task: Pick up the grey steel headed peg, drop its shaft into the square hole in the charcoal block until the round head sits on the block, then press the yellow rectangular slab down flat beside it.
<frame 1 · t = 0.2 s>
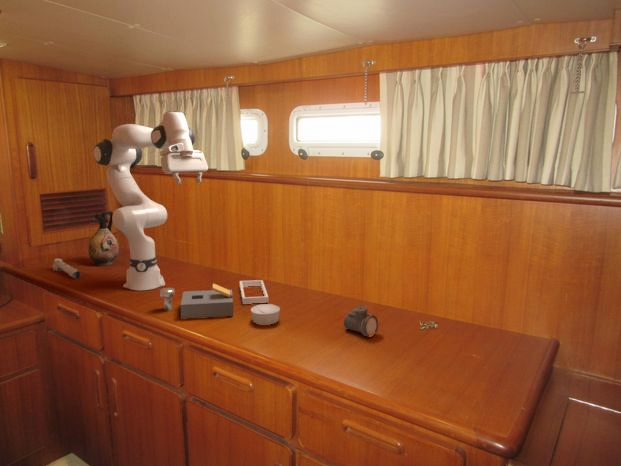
hand: (189, 183, 178), 51 cm above the cabinet, fingers open, 8 cm apart
pipe fitting: (359, 333, 163), on the cabinet
rectangular frame: (253, 294, 202), on the cabinet
steel peg: (168, 309, 182), on the cabinet
ceramic jug: (106, 263, 249), on the cabinet
ramekin: (265, 322, 172), on the cabinet
yellow rectangular slab: (222, 290, 181), point 8 cm above the cabinet, hinge at 26.8°
hitch block: (207, 310, 181), on the cabinet
grey elongated piece: (66, 274, 228), on the cabinet
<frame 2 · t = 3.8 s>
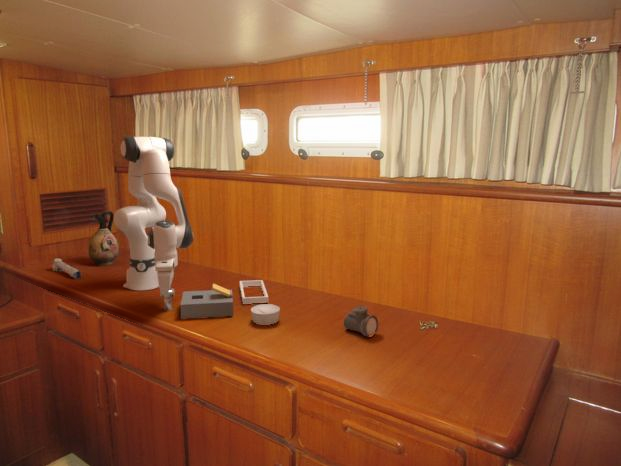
hand: (167, 294, 181), 7 cm above the cabinet, fingers closed on steel peg, 6 cm apart
steel peg: (168, 309, 182), on the cabinet, touching gripper
everything else where it was.
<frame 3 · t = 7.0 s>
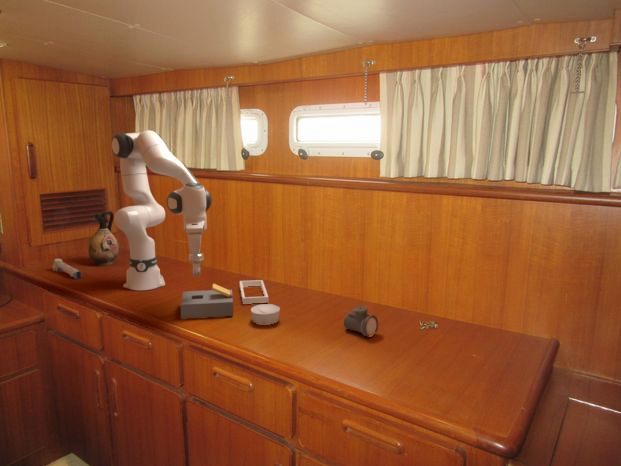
hand: (196, 258, 176), 22 cm above the cabinet, fingers closed on steel peg, 6 cm apart
steel peg: (196, 274, 178), point 16 cm above the cabinet, touching gripper
everything else where it was.
when the fingers open (8 cm above the cabinet, at t = 10.5 s): steel peg drops 2 cm, resting on hitch block.
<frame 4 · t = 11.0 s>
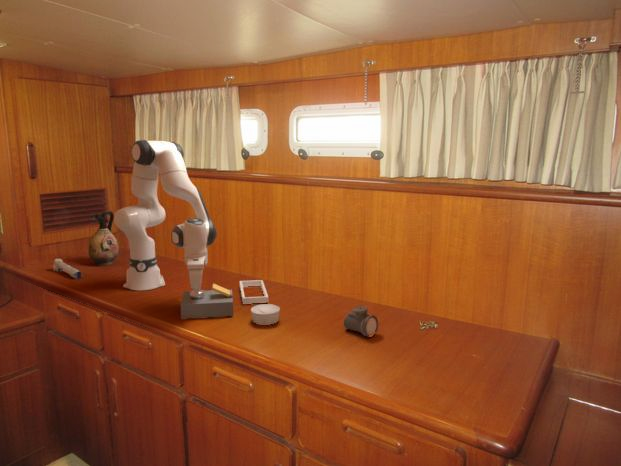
hand: (197, 292, 179), 8 cm above the cabinet, fingers open, 8 cm apart
steel peg: (197, 311, 180), resting on hitch block
everything else where it was.
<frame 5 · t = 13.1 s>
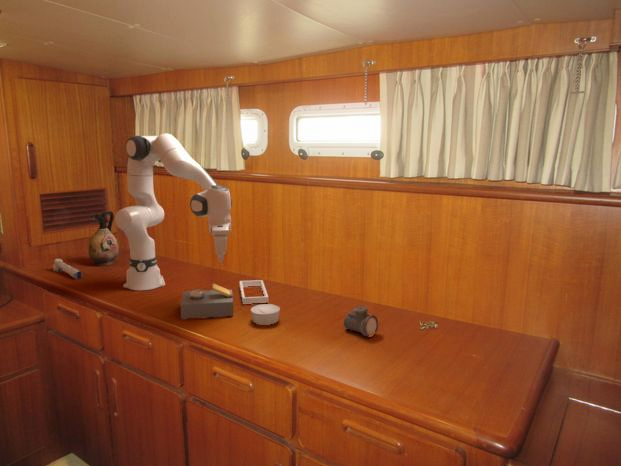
hand: (220, 260, 178), 21 cm above the cabinet, fingers open, 4 cm apart
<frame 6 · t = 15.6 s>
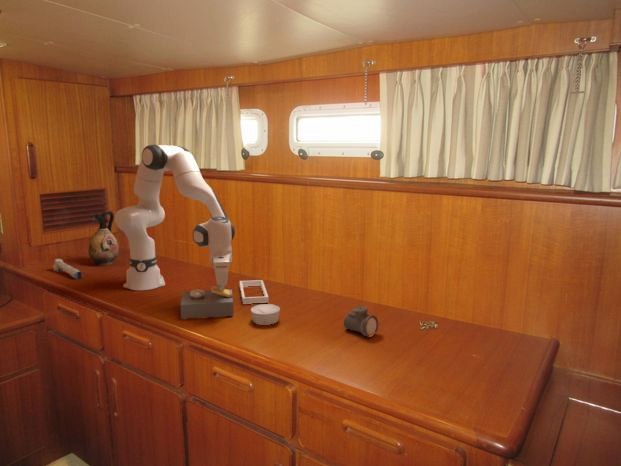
hand: (222, 289, 181), 9 cm above the cabinet, fingers closed, pressing on yellow rectangular slab
yellow rectangular slab: (222, 291, 181), point 8 cm above the cabinet, hinge at 20.4°, touching gripper
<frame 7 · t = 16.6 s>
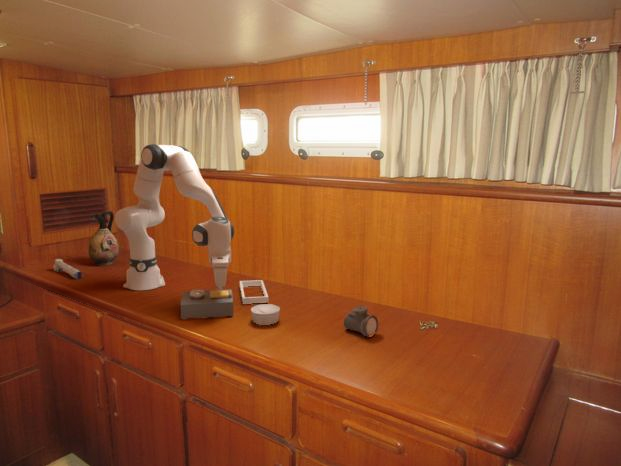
hand: (220, 289, 181), 9 cm above the cabinet, fingers closed
yellow rectangular slab: (220, 293, 181), point 7 cm above the cabinet, hinge at 2.7°
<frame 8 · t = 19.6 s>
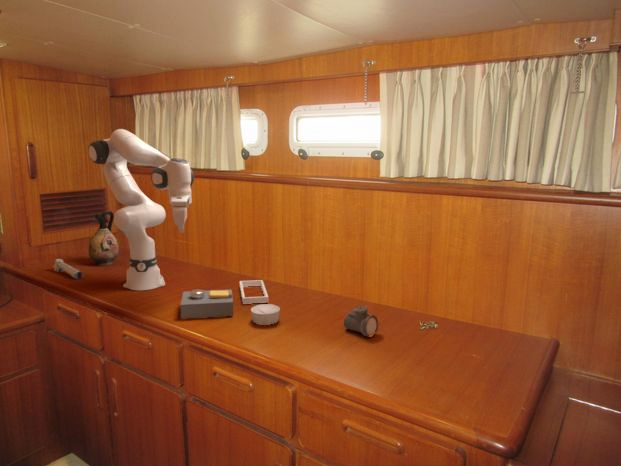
hand: (181, 232, 182), 31 cm above the cabinet, fingers closed
at the end: steel peg 0.0 cm from the target spot on the hitch block, point 0.0 cm above the hitch block's base; steel peg tilted 0°; yellow rectangular slab at +2° (first picture: +27°) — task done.
